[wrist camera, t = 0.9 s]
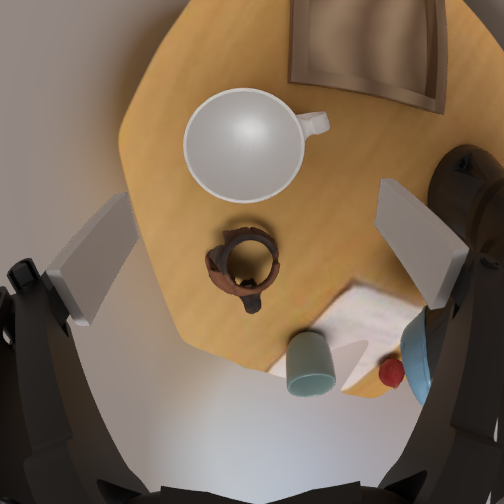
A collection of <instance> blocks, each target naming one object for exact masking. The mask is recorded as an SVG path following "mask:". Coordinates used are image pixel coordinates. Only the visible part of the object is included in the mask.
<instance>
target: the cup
mask: <svg viewBox="0 0 504 504" xmlns="http://www.w3.org/2000/svg"><path fill="white" fill-rule="evenodd" d="M286 379H287V389H288V391H289V392H290V393H291V394H292V395H295V396H300V397H313V396H318V395H322V394H324V393H326V392H328V391H329V390H331V389H332V388H333V387H334V385H335V383H336V376H335V370H334V365H333V359H332V355H331V351H330V348H329V346H328V343H327V341H326V340H325V338H324V337H323V336H321V335H320V334H318V333H315V332H302V333H299V334H297V335H296V336H294V337H293V338H292V340H291V341H290V343H289V345H288V348H287V354H286Z"/></svg>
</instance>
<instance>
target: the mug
mask: <svg viewBox="0 0 504 504" xmlns="http://www.w3.org/2000/svg"><path fill="white" fill-rule="evenodd" d="M329 129H330V124H329V120H328V116H327V113H326V112H311V113H305V114H299V115H295V114H294V113H293V111H292V110H291V109H290V108H289V107H288V106H287V105H286V104H285V103H284V102H283V101H282V100H280V99H279V98H277V97H275V96H274V95H272V94H270V93H267V92H265V91H262V90H258V89H252V88H235V89H230V90H226V91H223V92H220V93H218V94H216V95H214V96H212V97H210V98H209V99H207V100H206V101H205V102H204V103H202V104H201V105H200V106H199V107H198V108H197V109H196V111H195V112H194V113H193V115H192V116H191V118H190V120H189V122H188V124H187V127H186V130H185V134H184V141H183V150H184V157H185V161H186V164H187V166H188V169H189V171H190V173H191V174H192V176H193V177H194V179H195V180H196V181H197V182H198V183H199V184H200V185H201V186H202V187H203V188H204V189H205V190H206V191H208V192H209V193H211V194H212V195H214V196H216V197H218V198H221V199H223V200H226V201H230V202H236V203H253V202H258V201H262V200H265V199H268V198H270V197H272V196H274V195H276V194H278V193H279V192H281V191H282V190H283V189H285V188H286V187H287V186H288V185H289V184H290V183H291V182H292V180H293V179H294V178H295V176H296V175H297V173H298V171H299V169H300V167H301V164H302V161H303V157H304V149H305V141H306V139H307V138H308V137H309V136H310V135H312V134H315V135H317V134H321V133H323V132H326V131H328V130H329Z"/></svg>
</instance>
